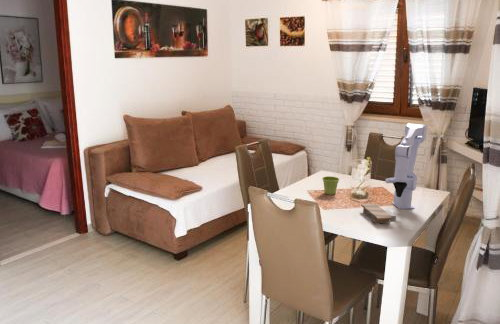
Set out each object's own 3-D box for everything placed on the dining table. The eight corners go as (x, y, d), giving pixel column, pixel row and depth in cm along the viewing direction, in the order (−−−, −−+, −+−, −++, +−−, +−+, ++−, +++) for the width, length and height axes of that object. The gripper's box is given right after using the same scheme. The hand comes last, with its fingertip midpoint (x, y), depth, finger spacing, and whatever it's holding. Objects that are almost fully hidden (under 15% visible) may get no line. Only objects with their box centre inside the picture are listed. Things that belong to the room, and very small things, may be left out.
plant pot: (339, 196, 251) (340, 181, 249) (322, 195, 251) (323, 180, 249) (337, 191, 260) (337, 176, 258) (320, 190, 260) (321, 176, 258)
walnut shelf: (360, 210, 227) (361, 204, 227) (374, 210, 229) (375, 203, 228) (377, 225, 208) (377, 218, 207) (392, 224, 209) (393, 217, 208)
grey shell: (369, 214, 222) (369, 210, 222) (388, 214, 224) (388, 210, 223) (375, 220, 214) (376, 216, 214) (395, 219, 216) (396, 215, 215)
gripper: (391, 172, 214) (388, 199, 217) (419, 171, 217) (416, 198, 220) (384, 168, 221) (382, 195, 224) (411, 167, 223) (409, 194, 226)
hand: (398, 196), depth 222 cm, fingers closed
